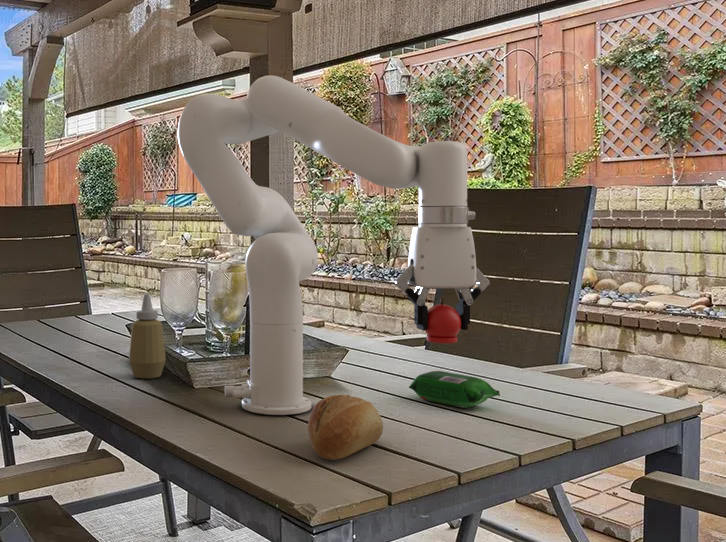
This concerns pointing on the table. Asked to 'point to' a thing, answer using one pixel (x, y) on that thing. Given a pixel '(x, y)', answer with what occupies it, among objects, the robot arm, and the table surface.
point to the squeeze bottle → (147, 343)
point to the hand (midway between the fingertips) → (441, 328)
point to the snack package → (452, 389)
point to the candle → (443, 323)
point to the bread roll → (343, 426)
